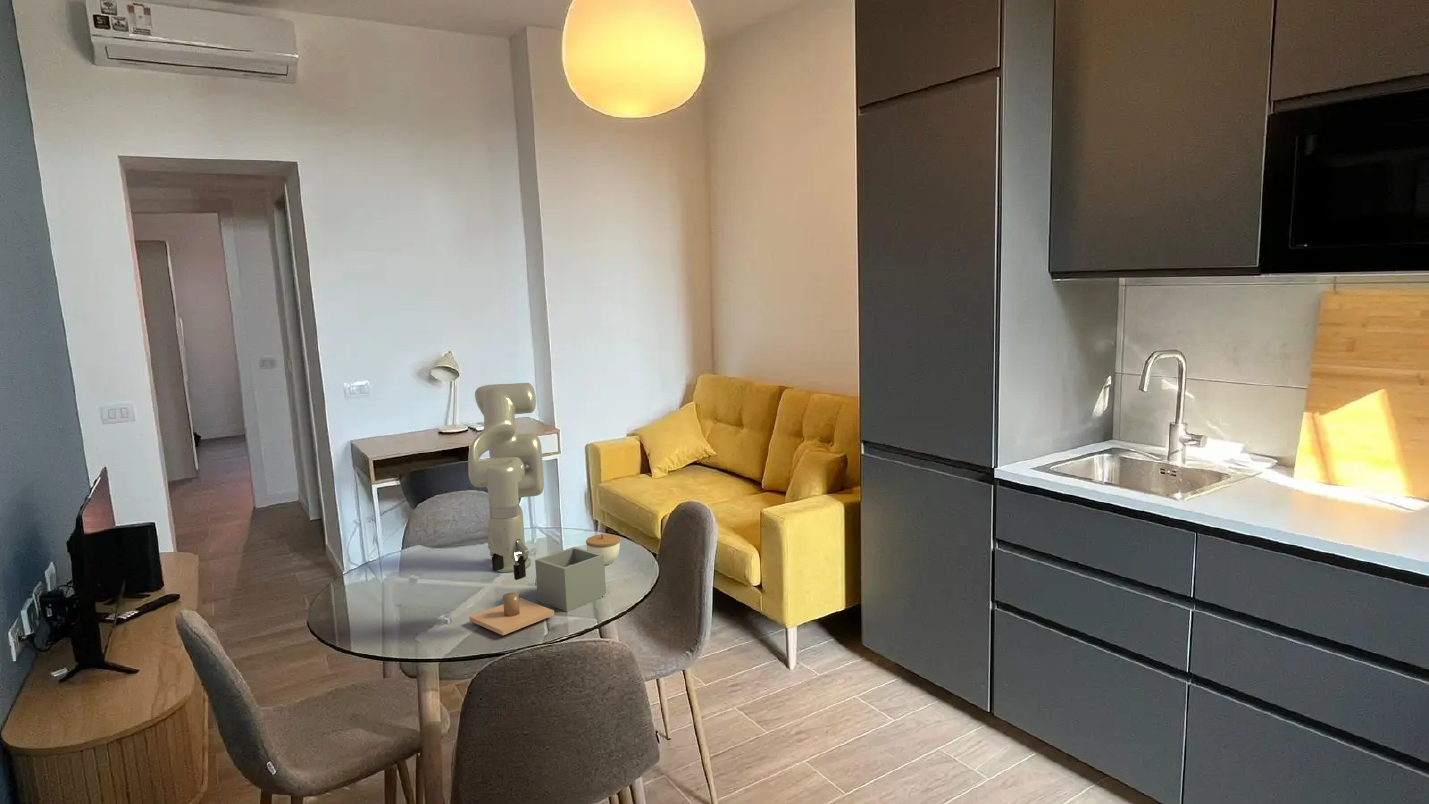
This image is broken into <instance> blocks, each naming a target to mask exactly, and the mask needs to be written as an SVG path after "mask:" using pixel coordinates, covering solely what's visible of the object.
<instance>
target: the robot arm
mask: <svg viewBox="0 0 1429 804" xmlns="http://www.w3.org/2000/svg"><path fill="white" fill-rule="evenodd" d="M474 398H475V403H476V405H477V407H478V409H479V410H480V413H481V414H482V416H483V426H484V429H483V430H482V431H481V432H480V433H479V434H477V436H476V437H475V438H474V440H473V441H472V443H471V445H470V447H469V451H468V459H467V461H468V466H467V467H468V479H469V482H470V483H471V484H470V485H473V487H476V488H486V489H487V495H488V496H487V497H488V509H489V516H488V523H487V524H488V525H487V526H488V527H487V537H486V542H487V549H488V550H489V551H490V553H489V556H490V557H491V563H490V569H491V570H492V571H493V573H494V572H497V571H499V573H510V572H512V573H513V577H514V580H515V581H518V580H521V579H523V578H526V577H527V572H526V569H527V568H528V567H530V566H531V564H532V560H531V558H530V557H528V556H529V553H530V550H529V548H528V547H527V546H526V541H525V527H524V526H525V525H524V512H523V508H522V507H521V506H520V499H519V498H530V497H537V496H540V495H541V494H542V493H543V491H544V490H545V489H544V488H545V481H544V480H545V475H544V466H543V465H544V463H543V451H542V450H543V449H542V444H541V443H542V442H541V441H540V438H539V436H538V435H537V434H535V433H531V432H530V433H529V432H526V433H517V430H516V429H517V427H516V417H515V416H516V415H523V414H532V413H533V412H534V411H535V409H536V406H537V396H536V392H535V389H534V387H533V385H532V384H531V383H530V382H519V383H518V382H517V383H515V382H514V383H496V384H486V385H481V386H479V387H477V388H476V390H475V392H474ZM487 452H488V454H489V458H488V457H487V458H481V456H483V455H484V454H485V453H487ZM525 465H527V466H525Z"/></svg>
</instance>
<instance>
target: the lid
mask: <svg viewBox="0 0 1429 804" xmlns="http://www.w3.org/2000/svg"><path fill="white" fill-rule="evenodd" d="M502 601H503V602H502V603H503V604H499V605H498V606H494V607H491V608H490V609H486V610H483V611H480V612H478V613H475V614H472V615H470V616H469V622H471V623H472V624H473V623H474V624H476V625H478V626H481V627H482V628H485V629H487V630H489V631H492V632H494V633H496V634H499V635H501V636H504V635H505V636H506V635H508V634H510V633H512V632H515V631H518V630H520V629H522V628H525V627H527V626H530V625H533V624H535V623H537V622H540V621H542V620H545V619H548V618H550V617H552V616H555V610H554V609H551V608H548V607H546V606H543V605H541V604H537V603H534V602H533V601H529V600H528V599H524V598H521V597H520V596H519V593H518V592H507V593H504V594H503V595H502Z"/></svg>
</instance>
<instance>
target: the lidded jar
mask: <svg viewBox="0 0 1429 804" xmlns="http://www.w3.org/2000/svg"><path fill="white" fill-rule="evenodd" d="M620 541H621V538H620V536H619V535H616V534H611V533H601V534H596V535H591V536H590V537H588V538H587V539H586V540H585V544H586V550H587V551H591V552H594V553H598V554H601V555H604V566H609V565H612V564H613V563H614V562H615V560H616V559H617V558H618V557H619V553H620V549H621V548H620V547H621V542H620ZM613 561H614V562H613ZM612 562H613V563H612ZM611 563H612V564H611ZM608 564H609V565H608Z"/></svg>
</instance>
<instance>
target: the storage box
mask: <svg viewBox="0 0 1429 804" xmlns="http://www.w3.org/2000/svg"><path fill="white" fill-rule="evenodd" d="M534 562H535V563H534V564H535V580H536V593H537V601H538V602H540V603H543V604H545V605H548V606H551V607H554V608H555V609H559V610H562V611H563V612H570V611H573V610H575V609H577V608H580V607H581V606H585V605H587V604H589V603H590V604H591V603H592V602H595V601H597V600H599V598H600V597H602V596H603V595H605V594H606V595H607V589H606V588H607V587H606V571H605V569H606V567H605V566H606V565H604V555H601V554H598V553H594V552H591V551H587V549H583V548H581V547H576V546H573V547H569V548H566V549H563V550H561V551H557V552H555V553H552V554H548V555H546V556H542V557H540V558H537V559H535V560H534ZM568 565H570V566H568ZM602 598H603V597H602ZM600 599H601V598H600Z"/></svg>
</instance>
